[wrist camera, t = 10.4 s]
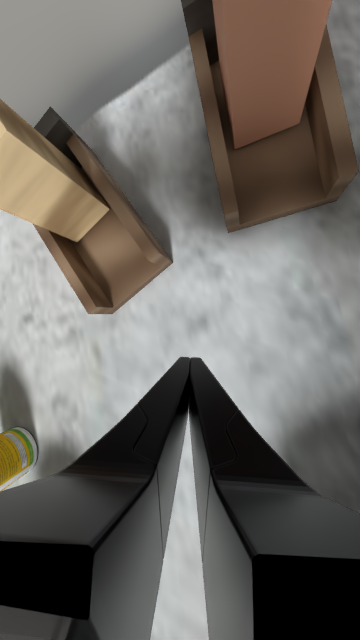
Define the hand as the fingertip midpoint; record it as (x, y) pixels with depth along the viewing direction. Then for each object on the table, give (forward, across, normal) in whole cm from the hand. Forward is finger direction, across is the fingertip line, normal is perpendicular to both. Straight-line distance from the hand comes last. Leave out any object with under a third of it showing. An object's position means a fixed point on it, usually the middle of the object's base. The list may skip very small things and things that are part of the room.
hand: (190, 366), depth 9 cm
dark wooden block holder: (+15, -5, -12) cm, 20 cm away
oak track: (+16, +10, -5) cm, 19 cm away
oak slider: (+16, +11, -7) cm, 21 cm away
